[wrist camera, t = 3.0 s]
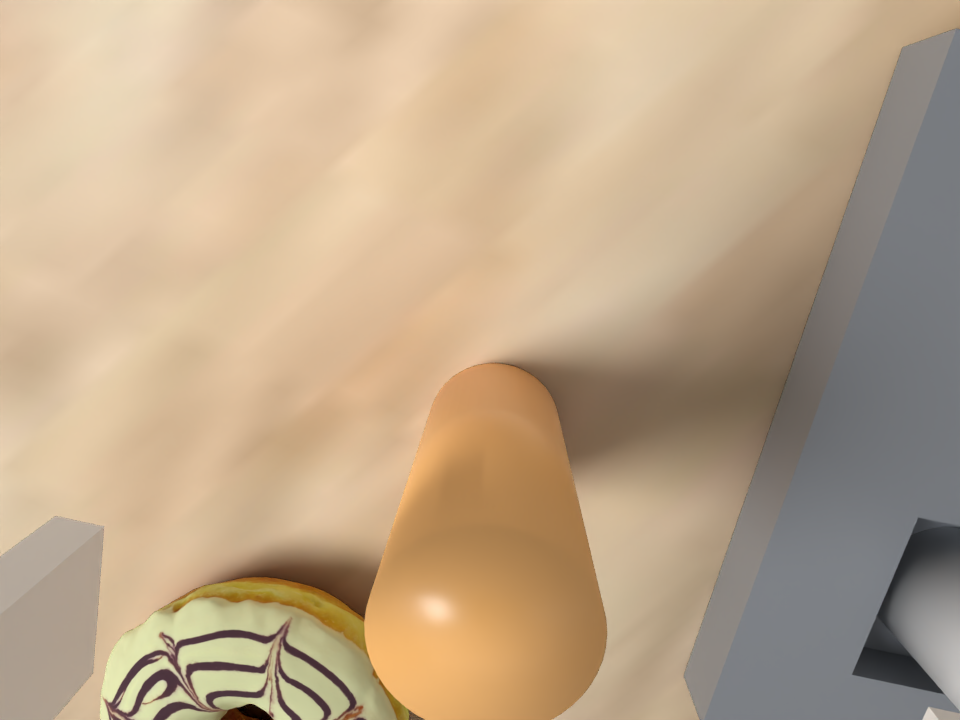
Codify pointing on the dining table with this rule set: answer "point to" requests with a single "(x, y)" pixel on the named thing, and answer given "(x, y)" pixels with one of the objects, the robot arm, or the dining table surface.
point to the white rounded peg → (929, 605)
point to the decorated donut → (247, 658)
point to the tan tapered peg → (488, 562)
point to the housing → (854, 441)
